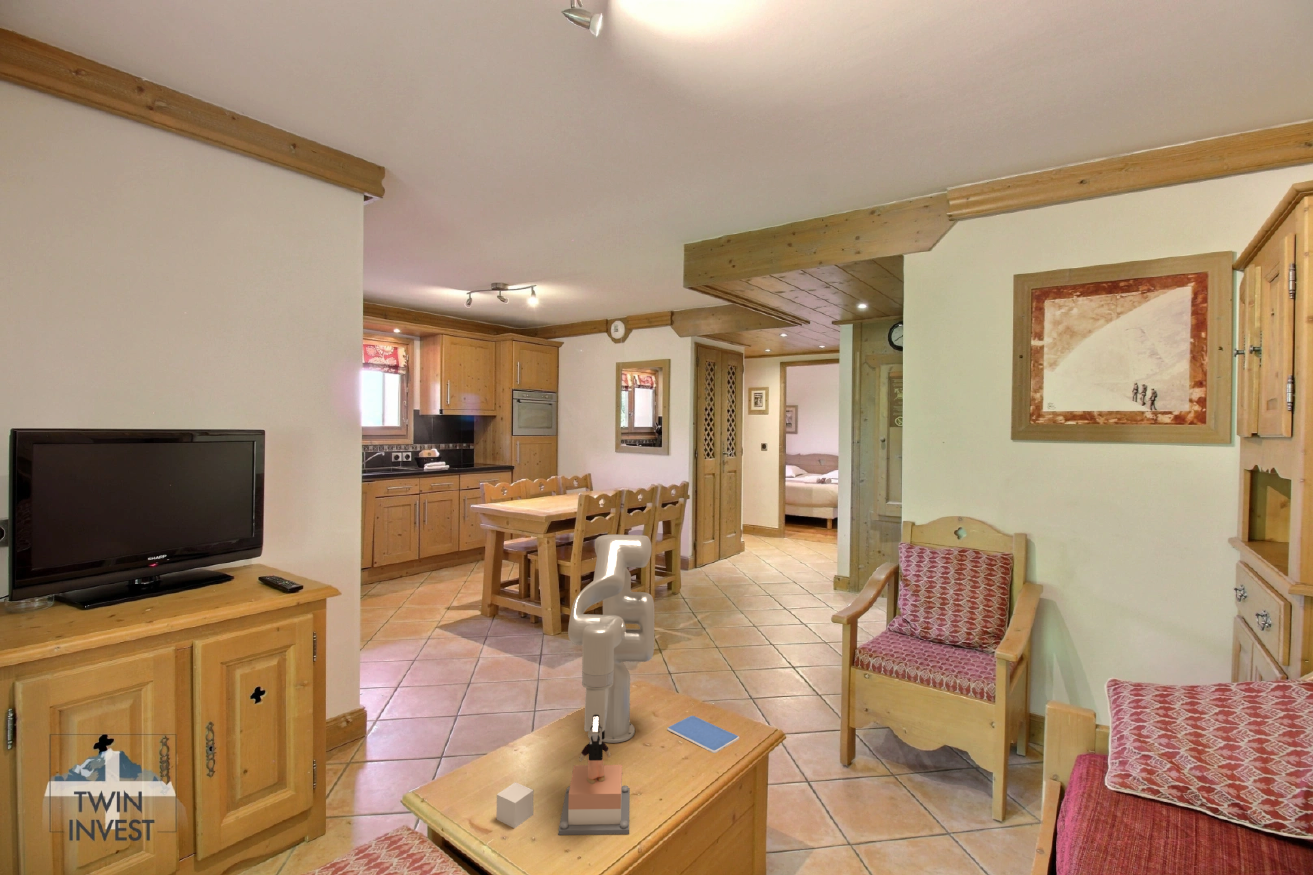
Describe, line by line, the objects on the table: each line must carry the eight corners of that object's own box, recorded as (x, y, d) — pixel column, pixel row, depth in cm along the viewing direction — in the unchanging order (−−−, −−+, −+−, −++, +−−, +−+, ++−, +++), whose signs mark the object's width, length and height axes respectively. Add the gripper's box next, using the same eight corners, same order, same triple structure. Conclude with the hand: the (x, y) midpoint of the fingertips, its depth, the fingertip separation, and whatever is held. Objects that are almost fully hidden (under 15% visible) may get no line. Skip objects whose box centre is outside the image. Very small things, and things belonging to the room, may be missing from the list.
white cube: (496, 819, 139) (496, 794, 139) (514, 806, 144) (515, 781, 144) (514, 828, 136) (515, 802, 136) (533, 814, 141) (533, 789, 141)
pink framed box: (566, 792, 150) (566, 760, 150) (629, 791, 151) (630, 760, 151) (558, 834, 134) (558, 799, 134) (629, 833, 135) (629, 798, 135)
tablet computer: (740, 740, 178) (741, 735, 178) (714, 755, 169) (714, 751, 169) (692, 718, 192) (692, 714, 192) (665, 731, 183) (665, 727, 183)
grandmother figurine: (604, 771, 146) (605, 719, 146) (612, 778, 142) (612, 726, 142) (576, 780, 141) (576, 727, 141) (583, 788, 138) (583, 734, 138)
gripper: (585, 663, 151) (584, 731, 151) (578, 692, 134) (577, 769, 134) (614, 663, 151) (613, 730, 151) (612, 692, 134) (611, 769, 134)
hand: (596, 748), depth 142 cm, fingers open, 9 cm apart
